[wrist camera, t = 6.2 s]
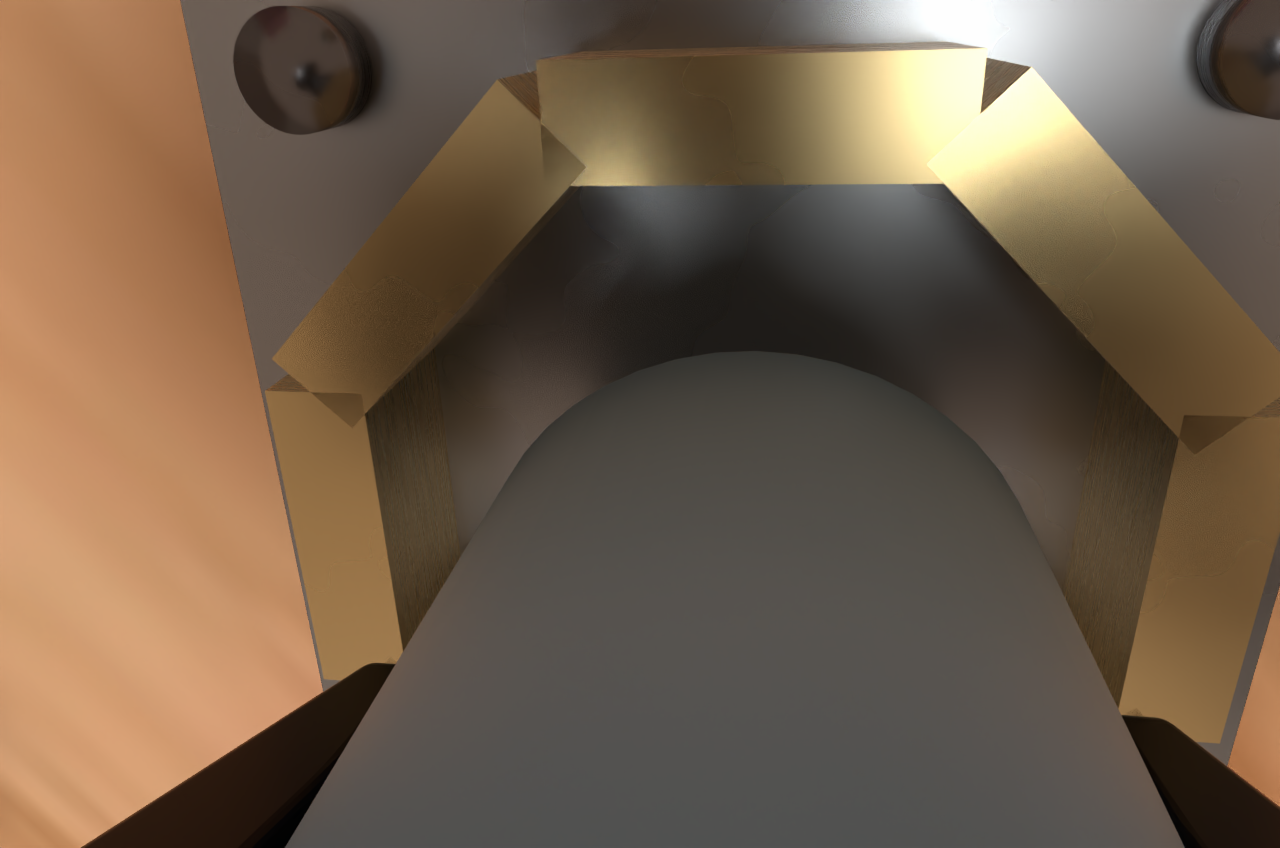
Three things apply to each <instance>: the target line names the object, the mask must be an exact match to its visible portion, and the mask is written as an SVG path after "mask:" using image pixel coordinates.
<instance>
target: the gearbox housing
mask: <svg viewBox="0 0 1280 848" xmlns="http://www.w3.org/2000/svg"><path fill="white" fill-rule="evenodd" d="M180 1H181V6H182V11H183V16H184V20H185V25H186V30H187V35H188V40H189V45H190V49H191V54H192V59H193V64H194V69H195V74H196V78H197V83H198V88H199V93H200V98H201V103H202V107H203V112H204V117H205V122H206V127H207V132H208V136H209V141H210V146H211V151H212V156H213V161H214V165H215V170H216V175H217V180H218V185H219V190H220V194H221V199H222V204H223V209H224V214H225V219H226V223H227V228H228V233H229V238H230V243H231V248H232V252H233V257H234V262H235V267H236V272H237V277H238V281H239V286H240V291H241V296H242V301H243V306H244V310H245V315H246V320H247V325H248V330H249V335H250V339H251V344H252V349H253V354H254V359H255V364H256V368H257V373H258V378H259V383H260V388H261V393H262V397H263V402H264V407H265V412H266V417H267V422H268V426H269V431H270V436H271V441H272V446H273V451H274V455H275V460H276V465H277V470H278V475H279V480H280V484H281V489H282V494H283V499H284V504H285V509H286V513H287V518H288V523H289V528H290V533H291V538H292V542H293V547H294V552H295V557H296V562H297V567H298V571H299V576H300V581H301V586H302V591H303V596H304V600H305V605H306V610H307V615H308V620H309V625H310V629H311V634H312V639H313V644H314V649H315V654H316V658H317V663H318V668H319V673H320V678H321V683H322V687H323V692H324V691H325V690H327V689H328V688H330V687H332V686H333V685H335V684H336V683H338V682H339V681H341V680H342V679H344V678H346V677H347V676H349V675H350V674H352V673H353V672H355V671H356V670H358V669H360V668H361V667H363V666H365V665H367V664H370V663H391V664H396V663H397V661H398V660H399V658H400V656H401V655H402V653H403V651H404V650H405V648H406V646H407V645H408V643H409V641H410V640H411V638H412V636H413V635H414V633H415V631H416V630H417V628H418V626H419V625H420V623H421V621H422V620H423V618H424V616H425V615H426V613H427V611H428V610H429V608H430V606H431V605H432V603H433V602H434V600H435V598H436V597H437V595H438V593H439V592H440V590H441V588H442V587H443V585H444V583H445V582H446V580H447V578H448V577H449V575H450V573H451V572H452V570H453V568H454V567H455V565H456V563H457V562H458V560H459V558H460V557H461V555H462V553H463V552H464V550H465V548H466V547H467V545H468V544H469V542H470V540H471V539H472V537H473V535H474V534H475V532H476V530H477V529H478V527H479V525H480V524H481V522H482V520H483V519H484V517H485V515H486V514H487V512H488V510H489V509H490V507H491V505H492V504H493V502H494V500H495V499H496V497H497V495H498V494H499V492H500V490H501V489H502V487H503V486H504V484H505V482H506V481H507V479H508V477H509V476H510V474H511V473H512V471H513V470H514V468H515V467H516V465H517V464H518V462H519V460H520V459H521V457H522V456H523V454H524V453H525V452H526V450H527V449H528V448H529V447H530V446H531V445H532V444H533V443H534V441H535V440H536V439H537V438H538V437H539V436H540V435H541V434H542V432H543V431H544V430H545V429H546V428H547V427H548V426H549V425H550V424H552V423H553V422H554V421H555V420H556V419H558V418H559V417H560V416H561V415H562V414H564V413H565V412H566V411H567V410H568V409H569V408H571V407H572V406H573V405H575V404H576V403H578V402H579V401H581V400H583V399H584V398H586V397H587V396H589V395H591V394H592V393H594V392H595V391H597V390H599V389H600V388H602V387H603V386H605V385H607V384H610V383H612V382H614V381H616V380H619V379H621V378H623V377H625V376H627V375H630V374H632V373H634V372H636V371H639V370H642V369H645V368H648V367H652V366H655V365H658V364H662V363H665V362H668V361H672V360H675V359H680V358H686V357H692V356H698V355H704V354H710V353H719V352H743V351H762V352H775V353H787V354H798V355H803V356H808V357H812V358H817V359H822V360H827V361H832V362H836V363H840V364H843V365H846V366H849V367H852V368H854V369H857V370H860V371H863V372H866V373H869V374H872V375H875V376H878V377H880V378H882V379H884V380H886V381H888V382H890V383H892V384H894V385H896V386H898V387H900V388H902V389H904V390H906V391H908V392H910V393H912V394H914V395H915V396H917V397H918V398H920V399H921V400H923V401H924V402H926V403H927V404H929V405H930V406H932V407H933V408H935V409H936V410H938V411H939V412H941V413H942V414H944V415H945V416H947V417H948V418H949V419H950V420H951V421H952V422H954V423H955V424H956V425H957V426H958V427H959V428H960V429H962V430H963V431H964V432H965V433H966V434H967V435H968V436H969V437H971V438H972V439H973V440H974V441H975V442H976V443H977V444H978V445H979V447H980V448H981V449H982V450H983V451H984V453H985V454H986V455H987V456H988V457H989V458H990V460H991V461H992V462H993V463H994V464H995V466H996V467H997V468H998V469H999V470H1000V472H1001V473H1002V475H1003V477H1004V478H1005V480H1006V482H1007V483H1008V485H1009V486H1010V488H1011V490H1012V491H1013V493H1014V494H1015V496H1016V498H1017V499H1018V501H1019V503H1020V505H1021V507H1022V509H1023V511H1024V513H1025V516H1026V518H1027V520H1028V522H1029V524H1030V526H1031V528H1032V530H1033V532H1034V534H1035V536H1036V538H1037V541H1038V543H1039V545H1040V547H1041V549H1042V551H1043V553H1044V555H1045V557H1046V559H1047V561H1048V563H1049V566H1050V568H1051V570H1052V572H1053V574H1054V576H1055V578H1056V580H1057V582H1058V584H1059V586H1060V588H1061V591H1062V593H1063V595H1064V597H1065V599H1066V601H1067V603H1068V605H1069V607H1070V609H1071V611H1072V614H1073V616H1074V618H1075V620H1076V622H1077V624H1078V626H1079V628H1080V630H1081V632H1082V634H1083V636H1084V639H1085V641H1086V643H1087V645H1088V647H1089V649H1090V651H1091V653H1092V655H1093V657H1094V659H1095V661H1096V664H1097V666H1098V668H1099V670H1100V672H1101V674H1102V676H1103V678H1104V680H1105V682H1106V684H1107V687H1108V689H1109V691H1110V693H1111V695H1112V697H1113V699H1114V701H1115V703H1116V705H1117V707H1118V709H1119V712H1120V714H1121V715H1130V716H1145V717H1156V718H1161V719H1164V720H1167V721H1168V722H1170V723H1171V724H1173V725H1175V726H1176V727H1177V728H1179V729H1180V730H1181V731H1182V732H1184V733H1185V734H1186V735H1188V736H1189V737H1190V738H1191V739H1193V740H1194V741H1195V742H1197V743H1198V744H1199V745H1201V746H1202V747H1203V748H1204V749H1206V750H1207V751H1208V752H1210V753H1211V754H1212V755H1213V756H1215V757H1216V758H1217V759H1219V760H1220V761H1221V762H1222V763H1224V764H1225V765H1226V766H1227V765H1228V761H1229V758H1230V754H1231V751H1232V748H1233V744H1234V741H1235V737H1236V734H1237V730H1238V727H1239V724H1240V720H1241V717H1242V713H1243V710H1244V706H1245V703H1246V700H1247V696H1248V693H1249V689H1250V686H1251V682H1252V679H1253V675H1254V672H1255V669H1256V665H1257V662H1258V658H1259V655H1260V651H1261V648H1262V645H1263V641H1264V638H1265V634H1266V631H1267V627H1268V624H1269V621H1270V617H1271V614H1272V610H1273V607H1274V603H1275V600H1276V597H1277V593H1278V590H1279V586H1280V0H180Z"/></svg>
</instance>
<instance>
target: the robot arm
mask: <svg viewBox="0 0 1280 848" xmlns="http://www.w3.org/2000/svg"><path fill="white" fill-rule="evenodd" d="M394 666H395V664H391V663H370V664H367V665H365V666H363V667H361V668H360V669H358V670H356V671H355V672H353V673H352V674H350V675H349V676H347V677H346V678H344V679H342V680H341V681H339V682H338V683H336V684H335V685H333V686H332V687H330V688H328V689H327V690H325V691H324V692H322V693H321V694H319V695H318V696H316V697H314V698H313V699H311V700H310V701H308V702H307V703H305V704H304V705H302V706H300V707H299V708H297V709H296V710H294V711H293V712H291V713H290V714H288V715H286V716H285V717H283V718H282V719H280V720H279V721H277V722H276V723H274V724H272V725H271V726H269V727H268V728H266V729H265V730H263V731H262V732H260V733H258V734H257V735H255V736H254V737H252V738H251V739H249V740H248V741H246V742H244V743H243V744H241V745H240V746H238V747H237V748H235V749H234V750H232V751H230V752H229V753H227V754H226V755H224V756H223V757H221V758H220V759H218V760H216V761H215V762H213V763H212V764H210V765H209V766H207V767H206V768H204V769H202V770H201V771H199V772H198V773H196V774H195V775H193V776H192V777H190V778H188V779H187V780H185V781H184V782H182V783H181V784H179V785H178V786H176V787H174V788H173V789H171V790H170V791H168V792H167V793H165V794H164V795H162V796H160V797H159V798H157V799H156V800H154V801H153V802H151V803H150V804H148V805H146V806H145V807H143V808H142V809H140V810H139V811H137V812H136V813H134V814H132V815H131V816H129V817H128V818H126V819H125V820H123V821H122V822H120V823H118V824H117V825H115V826H114V827H112V828H111V829H109V830H108V831H106V832H104V833H103V834H101V835H100V836H98V837H97V838H95V839H94V840H92V841H90V842H89V843H87V844H86V845H84V846H83V847H81V848H285V847H286V845H287V843H288V842H289V840H290V838H291V837H292V835H293V834H294V832H295V830H296V829H297V827H298V825H299V824H300V822H301V820H302V819H303V817H304V815H305V814H306V812H307V810H308V809H309V807H310V805H311V804H312V802H313V800H314V799H315V797H316V795H317V794H318V792H319V790H320V789H321V787H322V785H323V784H324V782H325V780H326V779H327V777H328V776H329V774H330V772H331V771H332V769H333V767H334V766H335V764H336V762H337V761H338V759H339V757H340V756H341V754H342V752H343V751H344V749H345V747H346V746H347V744H348V742H349V741H350V739H351V737H352V736H353V734H354V732H355V731H356V729H357V727H358V726H359V724H360V722H361V721H362V719H363V718H364V716H365V714H366V713H367V711H368V709H369V708H370V706H371V704H372V703H373V701H374V699H375V698H376V696H377V694H378V693H379V691H380V689H381V688H382V686H383V684H384V683H385V681H386V679H387V678H388V676H389V674H390V673H391V671H392V669H393V668H394ZM1121 716H1122V718H1123V720H1124V722H1125V724H1126V726H1127V728H1128V730H1129V732H1130V734H1131V737H1132V739H1133V741H1134V743H1135V745H1136V747H1137V749H1138V751H1139V753H1140V755H1141V757H1142V759H1143V762H1144V764H1145V766H1146V768H1147V770H1148V772H1149V774H1150V776H1151V778H1152V780H1153V782H1154V785H1155V787H1156V789H1157V791H1158V793H1159V795H1160V797H1161V799H1162V801H1163V803H1164V805H1165V807H1166V810H1167V812H1168V814H1169V816H1170V818H1171V820H1172V822H1173V824H1174V826H1175V828H1176V830H1177V832H1178V835H1179V837H1180V839H1181V841H1182V843H1183V845H1184V847H1185V848H1280V807H1279V806H1278V805H1277V804H1275V803H1274V802H1273V801H1271V800H1270V799H1269V798H1268V797H1266V796H1265V795H1264V794H1262V793H1261V792H1260V791H1259V790H1257V789H1256V788H1255V787H1253V786H1252V785H1251V784H1250V783H1248V782H1247V781H1246V780H1244V779H1243V778H1242V777H1241V776H1239V775H1238V774H1237V773H1235V772H1234V771H1233V770H1231V769H1230V768H1229V767H1228V766H1226V765H1225V764H1224V763H1222V762H1221V761H1220V760H1219V759H1217V758H1216V757H1215V756H1213V755H1212V754H1211V753H1210V752H1208V751H1207V750H1206V749H1204V748H1203V747H1202V746H1201V745H1199V744H1198V743H1197V742H1195V741H1194V740H1193V739H1191V738H1190V737H1189V736H1188V735H1186V734H1185V733H1184V732H1182V731H1181V730H1180V729H1179V728H1177V727H1176V726H1175V725H1173V724H1171V723H1170V722H1168V721H1167V720H1164V719H1161V718H1156V717H1145V716H1130V715H1121Z"/></svg>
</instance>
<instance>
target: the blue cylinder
mask: <svg viewBox="0 0 1280 848" xmlns="http://www.w3.org/2000/svg"><path fill="white" fill-rule="evenodd" d="M285 848H1185V847H1184V845H1183V843H1182V841H1181V839H1180V837H1179V835H1178V832H1177V830H1176V828H1175V826H1174V824H1173V822H1172V820H1171V818H1170V816H1169V814H1168V812H1167V810H1166V807H1165V805H1164V803H1163V801H1162V799H1161V797H1160V795H1159V793H1158V791H1157V789H1156V787H1155V785H1154V782H1153V780H1152V778H1151V776H1150V774H1149V772H1148V770H1147V768H1146V766H1145V764H1144V762H1143V759H1142V757H1141V755H1140V753H1139V751H1138V749H1137V747H1136V745H1135V743H1134V741H1133V739H1132V737H1131V734H1130V732H1129V730H1128V728H1127V726H1126V724H1125V722H1124V720H1123V718H1122V716H1121V714H1120V712H1119V709H1118V707H1117V705H1116V703H1115V701H1114V699H1113V697H1112V695H1111V693H1110V691H1109V689H1108V687H1107V684H1106V682H1105V680H1104V678H1103V676H1102V674H1101V672H1100V670H1099V668H1098V666H1097V664H1096V661H1095V659H1094V657H1093V655H1092V653H1091V651H1090V649H1089V647H1088V645H1087V643H1086V641H1085V639H1084V636H1083V634H1082V632H1081V630H1080V628H1079V626H1078V624H1077V622H1076V620H1075V618H1074V616H1073V614H1072V611H1071V609H1070V607H1069V605H1068V603H1067V601H1066V599H1065V597H1064V595H1063V593H1062V591H1061V588H1060V586H1059V584H1058V582H1057V580H1056V578H1055V576H1054V574H1053V572H1052V570H1051V568H1050V566H1049V563H1048V561H1047V559H1046V557H1045V555H1044V553H1043V551H1042V549H1041V547H1040V545H1039V543H1038V541H1037V538H1036V536H1035V534H1034V532H1033V530H1032V528H1031V526H1030V524H1029V522H1028V520H1027V518H1026V516H1025V513H1024V511H1023V509H1022V507H1021V505H1020V503H1019V501H1018V499H1017V498H1016V496H1015V494H1014V493H1013V491H1012V490H1011V488H1010V486H1009V485H1008V483H1007V482H1006V480H1005V478H1004V477H1003V475H1002V473H1001V472H1000V470H999V469H998V468H997V467H996V466H995V464H994V463H993V462H992V461H991V460H990V458H989V457H988V456H987V455H986V454H985V453H984V451H983V450H982V449H981V448H980V447H979V445H978V444H977V443H976V442H975V441H974V440H973V439H972V438H971V437H969V436H968V435H967V434H966V433H965V432H964V431H963V430H962V429H960V428H959V427H958V426H957V425H956V424H955V423H954V422H952V421H951V420H950V419H949V418H948V417H947V416H945V415H944V414H942V413H941V412H939V411H938V410H936V409H935V408H933V407H932V406H930V405H929V404H927V403H926V402H924V401H923V400H921V399H920V398H918V397H917V396H915V395H914V394H912V393H910V392H908V391H906V390H904V389H902V388H900V387H898V386H896V385H894V384H892V383H890V382H888V381H886V380H884V379H882V378H880V377H878V376H875V375H872V374H869V373H866V372H863V371H860V370H857V369H854V368H852V367H849V366H846V365H843V364H840V363H836V362H832V361H827V360H822V359H817V358H812V357H808V356H803V355H798V354H787V353H775V352H762V351H743V352H719V353H710V354H704V355H698V356H692V357H686V358H680V359H675V360H672V361H668V362H665V363H662V364H658V365H655V366H652V367H648V368H645V369H642V370H639V371H636V372H634V373H632V374H630V375H627V376H625V377H623V378H621V379H619V380H616V381H614V382H612V383H610V384H607V385H605V386H603V387H602V388H600V389H599V390H597V391H595V392H594V393H592V394H591V395H589V396H587V397H586V398H584V399H583V400H581V401H579V402H578V403H576V404H575V405H573V406H572V407H571V408H569V409H568V410H567V411H566V412H565V413H564V414H562V415H561V416H560V417H559V418H558V419H556V420H555V421H554V422H553V423H552V424H550V425H549V426H548V427H547V428H546V429H545V430H544V431H543V432H542V434H541V435H540V436H539V437H538V438H537V439H536V440H535V441H534V443H533V444H532V445H531V446H530V447H529V448H528V449H527V450H526V452H525V453H524V454H523V456H522V457H521V459H520V460H519V462H518V464H517V465H516V467H515V468H514V470H513V471H512V473H511V474H510V476H509V477H508V479H507V481H506V482H505V484H504V486H503V487H502V489H501V490H500V492H499V494H498V495H497V497H496V499H495V500H494V502H493V504H492V505H491V507H490V509H489V510H488V512H487V514H486V515H485V517H484V519H483V520H482V522H481V524H480V525H479V527H478V529H477V530H476V532H475V534H474V535H473V537H472V539H471V540H470V542H469V544H468V545H467V547H466V548H465V550H464V552H463V553H462V555H461V557H460V558H459V560H458V562H457V563H456V565H455V567H454V568H453V570H452V572H451V573H450V575H449V577H448V578H447V580H446V582H445V583H444V585H443V587H442V588H441V590H440V592H439V593H438V595H437V597H436V598H435V600H434V602H433V603H432V605H431V606H430V608H429V610H428V611H427V613H426V615H425V616H424V618H423V620H422V621H421V623H420V625H419V626H418V628H417V630H416V631H415V633H414V635H413V636H412V638H411V640H410V641H409V643H408V645H407V646H406V648H405V650H404V651H403V653H402V655H401V656H400V658H399V660H398V661H397V663H396V664H395V666H394V668H393V669H392V671H391V673H390V674H389V676H388V678H387V679H386V681H385V683H384V684H383V686H382V688H381V689H380V691H379V693H378V694H377V696H376V698H375V699H374V701H373V703H372V704H371V706H370V708H369V709H368V711H367V713H366V714H365V716H364V718H363V719H362V721H361V722H360V724H359V726H358V727H357V729H356V731H355V732H354V734H353V736H352V737H351V739H350V741H349V742H348V744H347V746H346V747H345V749H344V751H343V752H342V754H341V756H340V757H339V759H338V761H337V762H336V764H335V766H334V767H333V769H332V771H331V772H330V774H329V776H328V777H327V779H326V780H325V782H324V784H323V785H322V787H321V789H320V790H319V792H318V794H317V795H316V797H315V799H314V800H313V802H312V804H311V805H310V807H309V809H308V810H307V812H306V814H305V815H304V817H303V819H302V820H301V822H300V824H299V825H298V827H297V829H296V830H295V832H294V834H293V835H292V837H291V838H290V840H289V842H288V843H287V845H286V847H285Z"/></svg>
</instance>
